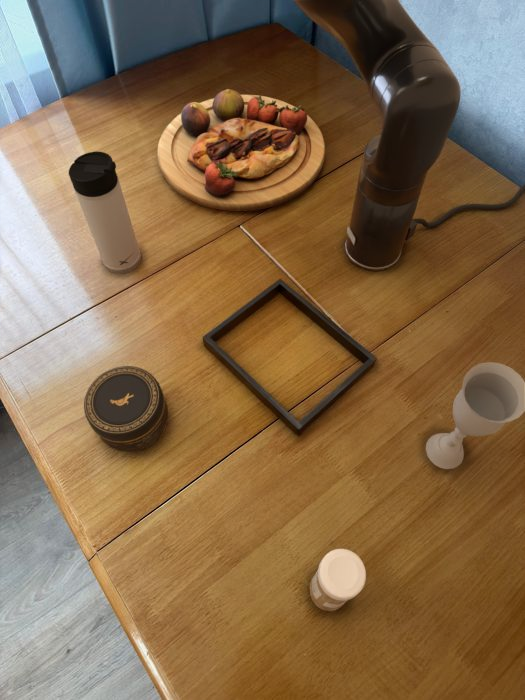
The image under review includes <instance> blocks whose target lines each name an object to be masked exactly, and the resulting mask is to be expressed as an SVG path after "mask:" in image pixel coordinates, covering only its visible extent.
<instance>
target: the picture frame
mask: <svg viewBox="0 0 525 700" xmlns="http://www.w3.org/2000/svg"><path fill="white" fill-rule="evenodd" d="M279 294H280V295H281V296H282V297H284V298H285V299H286V300H287V301H289V302H290V303H291V304H292V305H293V306H295V308H297V309H298V310H299V311H300V312H301V313H303V315H305V316H306V317H307V318H308V319H310V320H311V321H312V322H313V323H314V324H316V325H317V326H318V327H319V328H320V329H322V330H323V331H324V332H325V333H326V334H327V335H329V336H330V337H331V338H332V339H334V340H335V341H336V342H337V343H339V345H341V347H343V348H344V349H345V350H347V351H348V352H349V353H350V354H351V355H353V356H354V357H355V358H356V359H357V360H358V361H360V362H361V363H362V364H361V365H360V366H359V367H358V368H356V369H355V370H354V371H353V373H351V374H350V375H349V376H348V377H347V378H346V379H345V380H344V381H342V382H341V383H340V384H339V385H338V386H337V387H336V388H334V390H333V391H331V392H330V393H329V394H328V395H326V397H325V398H324V399H322V400H321V401H320V402H319V403H318V404H317V405H316V406H315V407H314V408H312V409H311V410H310V411H309V412H308V413H307V414H306V415H305V416H303V418H301V419H300V420H299V421H298V420H297V418H295V417H294V416H293V415H292V414H291V413H290V412H289V411H288V410H287V409H286V408H285V407H283V405H281V403H279V402H278V401H277V400H276V399H275V398H274V397H273V396H272V395H271V394H270V393H269V392H268V391H267V390H266V389H265V388H264V387H263V386H262V385H261V384H260V383H259V382H257V381H256V380H255V379H254V378H253V377H252V376H251V375H250V374H249V373H248V372H247V371H246V370H245V369H244V368H243V367H241V365H240V364H239V363H237V361H235V359H233V357H231V356H230V355H229V354H228V353H227V352H226V351H225V350H224V349H223V348H222V347H221V346H220V345H219V344H218V343H217V342H218V341H219V340H221V339H222V338H223V337H225V336H226V335H227V334H228V333H230V332H231V331H232V330H234V329H235V328H236V327H238V326H239V325H240V324H241V323H244V321H245V320H247V319H248V318H249V317H251V316H252V315H253V314H255V313H256V312H258V310H260V309H261V308H262V307H263V306H265V305H266V304H267V303H269V302H270V301H271V300H273V299H274V298H276V297H277V296H278V295H279ZM201 338H202V343H203V347H204V348H206V349H207V351H209V353H211V354H212V355H213V356H214V357H215V359H217V360H218V361H219V362H220V363H221V364H222V365H223V366H224V367H225V368H226V369H227V370H228V371H229V372H230V373H231V374H232V375H233V376H235V378H236V379H237V380H238V381H240V383H242V384H243V385H244V386H245V387H246V388H247V389H248V390H249V391H250V392H251V393H252V394H253V396H255V397H256V398H257V399H258V400H259V401H260V402H261V403H262V404H263V405H264V406H266V407H267V408H268V409H269V411H271V412H272V413H273V415H275V416H276V417H277V418H278V419H279V420H280V421H281V422H282V423H283V424H284V425H285V426H286V427H287V428H288V429H289V430H290V431H291V432H292V433H293V434H294V435H295V436H296V437H299V436H300V435H302V433H304V431H306V430H307V429H308V428H309V427H310V426H311V425H312V424H314V422H316V421H317V420H318V419H319V418H320V417H321V416H322V415H323V414H324V413H325V412H327V410H329V409H330V408H331V407H332V406H333V405H334V404H335V403H337V401H338V400H340V399H341V398H342V397H343V396H344V395H345V394H346V393H348V391H350V390H351V388H352V387H354V386H355V385H356V384H357V383H358V382H359V381H361V380H362V378H364V377H365V376H366V375H367V374H368V373H370V371H371V370H372V369H373V368H374V367H375V366H376V363H377V360H378V358H377V356H375V355H374V354H373V353H371V352H370V351H369V350H368V349H367V348H365V347H364V346H363V345H362V344H360V342H359V341H357V340H356V339H354V338H353V337H352V336H351V335H350V334H349V333H347V332H346V331H345V330H344V329H342V328H341V326H339V325H338V324H337V323H335V322H334V321H333V320H331V319H330V318H329V317H328V316H327V315H326V314H324V313H323V312H322V311H320V309H318V308H317V307H315V306H314V305H313V304H312V303H311V302H310V301H309V300H307V299H306V298H305V297H304V296H302V295H301V294H300V293H299V292H297V291H296V290H295V289H294V288H292V286H290V285H289V284H287V283H286V282H285V281H284V280H283V279H282V278H279V279H277V280H276V281H275V282H273V283H272V284H270V285H269V286H268V287H267V288H265V289H264V290H263V291H261V292H260V293H258V294H257V295H256V296H254V297H253V298H252V299H251V300H249V301H248V302H246V303H245V304H244V305H243V306H242V307H240V308H239V309H237V310H235V312H233V313H232V314H230V316H228V317H227V318H225V319H224V320H223V321H222V322H220V323H218V324H217V325H216V326H215V327H213V328H212V329H211V330H209V331H208V332H207V333H206V334H204V335H202V336H201Z"/></svg>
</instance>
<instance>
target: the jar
mask: <svg viewBox="0 0 525 700" xmlns="http://www.w3.org/2000/svg"><path fill="white" fill-rule="evenodd" d="M83 410H84V415H85V418H86V420H87V422H88V424H89V426H90V427H91V429H92V430H93V432H94V433H95V434H96V435H97V436H98V437H99V438H100V440H101V441H102V442H103V443H104V444H105V445H106V446H108V447H109V448H111V449H113V450H115V451H119V452H123V453H138V452H141V451H144V450H146V449H148V448H150V447H152V446H153V445H154V444H155V443H157V441H158V440H160V438H161V437H162V436H163V434H164V432H165V430H166V427H167V424H168V419H169V410H168V405H167V402H166V399H165V393H164V391H163V389H162V387H161V385H160V384H159V381H158V380H157V378H155V376H154V375H152V373H151V372H149V371H147V370H146V369H143V368H141V367H137V366H132V365H121V366H116V367H113V368H111V369H108V370H106V371H104V372H102V373H101V374H99V375H98V376H97V377H96V378H95V379H94V380H93V382H92V383H91V384H90V385H89V387H88V389H87V391H86V393H85V396H84V400H83Z"/></svg>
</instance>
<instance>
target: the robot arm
mask: <svg viewBox="0 0 525 700" xmlns="http://www.w3.org/2000/svg"><path fill="white" fill-rule="evenodd" d="M292 1H293V2H294V4H295V5H296V6H297V7H298V8H299V9H300V11H301V12H303V14H304V15H305V16H307V17H308V18H309V20H311V21H312V22H313V23H314V24H316V25H317V27H318V26H319V28H321V29H323V30H324V31H326V32H327V33H328V34H329V35H331V37H333V38H335V39H336V40H337V41H338V42H339V43H340V44H341V46H342V47H343V48H344V49H345V51H346V53H347V54H348V55H349V57H350V58H351V60H352V62H353V64H354V65H355V67H356V69H357V71H358V73H359V74H360V76H361V78H362V80H363V82H364V84H365V86H366V88H367V90H368V93H369V95H370V98H371V100H372V102H373V105H374V106H375V108H376V110H377V112H378V114H379V116H380V118H381V119H382V127H381V132H380V133H379V134H377V135H375V136H373V137H372V138H371V139H370V140H369V141H368V142H367V144H366V145H365V147H364V149H363V155H362V158H361V163H360V169H359V175H358V179H357V185H356V190H355V195H354V200H353V205H352V209H351V210H352V211H351V215H350V220H349V225H347V229H346V233H347V235H346V239H345V241H344V252H345V255H346V257H347V258H348V260H349V261H350V262H351V263H352V264H353V265H355V266H357V267H358V268H360V269H362V270H366V271H373V272H378V271H384V270H388V269H390V268H392V267H394V266H395V265H396V264H397V262H398V261H399V260H400V258H401V254H402V249H403V247H404V245H405V242H408V241H409V240H411V238H413V237H414V236H415V233H416V229H417V227H418V224H419V225H421V226H423V227H424V228H427V229H431V228H435V227H437V226H439V225H441V224H442V223H444V221H446V220H448V219H449V218H450V217H452V216H453V215H454V214H457V213H459V212H462V211H466V210H490V211H491V210H501V209H506V208H508V207H511V206H512V205H514V204H515V203H516V202H517V201H518V200H519V199H520V198H521V197H522V196H523V194H524V193H525V184H523V185H522V186H521V187H520V188H519V189H518V191H517V192H516V193H515V194H514V196H513V197H511V199H509V200H508V201H506V202H501V203H495V204H494V203H493V204H490V203H489V204H488V203H487V204H486V203H466V204H462V205H458V206H456V207H454V208H452V209H450V210H448V211H447V212H445V213H444V214H443V215H442V216H441V217H439V218H437V219H436V220H434V221H431V222H428V221H427V220H426V219H424V218H414V216H415V213H416V209H417V206H418V203H419V199H420V195H421V193H422V190H423V187H424V184H425V182H426V178H427V175H428V172H429V170H430V169H431V168H432V167H433V166H434V164H435V163H436V162H437V161H438V159H439V157H440V155H441V153H442V151H443V149H444V147H445V143H446V141H447V138H448V136H449V134H450V131H451V129H452V127H453V124H454V121H455V119H456V116H457V113H458V110H459V106H460V103H461V97H462V96H461V94H462V93H461V92H462V91H461V84H460V81H459V79H458V78H457V76H456V75H455V73H454V72H453V70H452V69H451V66H449V64H448V62H447V61H446V60H445V58H444V57H443V54H441V52H440V51H439V49H438V48H437V47H436V46H435V45H434V43H433V42H432V41H431V40H430V39H429V38H428V36H426V34H425V33H424V32H423V31H422V30H421V29H420V28H419V26H418V25H417V23H416V22H415V21H414V19H412V17H411V16H410V14H409V13H408V12H407V10H406V9H405V8H404V6H403V5H402V4H401V2H400V0H292Z"/></svg>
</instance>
